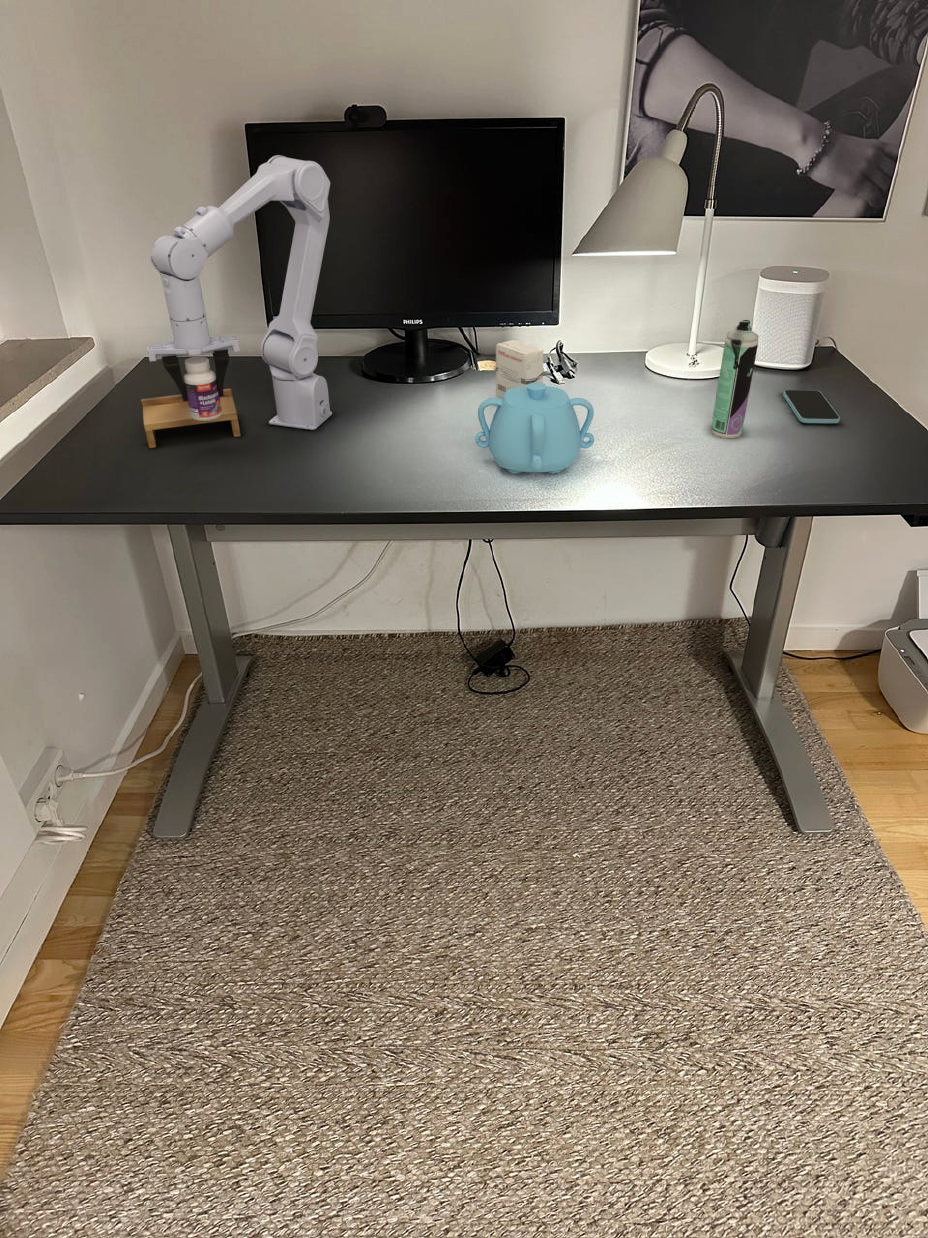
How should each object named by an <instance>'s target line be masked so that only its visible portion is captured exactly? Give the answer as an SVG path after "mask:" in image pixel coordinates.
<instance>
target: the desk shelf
mask: <svg viewBox="0 0 928 1238" xmlns="http://www.w3.org/2000/svg"><path fill="white" fill-rule="evenodd" d="M223 394H224V396H221V397H220V402H221V407H222V415H221V416H220V417H218V418H216V419H214V420H210V421H198V420H194V419H193V418H191V416H190V411H189V406H188V401H183V398H182V395H181V394H171V395H165V396H157V397H156V396H155V397H149V398H141V400H140V401H141V405H142V417H143V419H142V420H143V427H144V431H145V436H146V440H147V444H148V448H149V449H152V448H154V449H155V448H157V440H156V430H163V429H171V428H178V427H185V426H193V425H201V424H210V423H216V422H226V421H229V424H230V427H231V431H232V435H233V438H236V437H241V430H240V424H239V419H238V413H237V409H236V405H235V400H234V398H233V392H232V388H223Z"/></svg>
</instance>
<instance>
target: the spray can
mask: <svg viewBox="0 0 928 1238" xmlns="http://www.w3.org/2000/svg"><path fill="white" fill-rule="evenodd" d="M750 325H751V321H750V320H749V319H743V320H741V321H739V323H738V325H737V326H736V327H735V328H734V329H733V330H730V331H728V332H727V333H726V337H725V338H724V345H723V352H722V358H721V363H720V370H719V375H718V383H717V389H716V396H715V401H714V408H713V412H712V413H713V414H712V419H711V426H710V432H711V434H712V435H714V436H715V437H718V438H723V439H736V438H739V437H741V436H742V435H743V430H744V424H745V418H746V412H747V407H748V401H749V397H750V391H751V385H752V381H753V374H754V368H755V363H756V358H757V354H758V353H757V352H758V347H759V337H760V336H759V334H758V333H756V332H754V331H753V328H752V327H751V326H750Z"/></svg>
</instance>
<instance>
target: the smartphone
mask: <svg viewBox="0 0 928 1238" xmlns="http://www.w3.org/2000/svg"><path fill="white" fill-rule="evenodd" d="M782 397H783V398H784V399H785V402H787V404H788V405H789V407H790V409H791V410H792V412H793V413H794V415H795V416H796V418H797V420H798V421H799V422H800V423H804V424H839V423H840V420H841V416H840V415H839V414H838V413H837V411H836V409H834V407H833V406H832V405H831V403H830V401H828V399H827V398H826V396H825V395H824V394H823V393H822V391H820V390H816V389H785V390H783V394H782Z"/></svg>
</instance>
